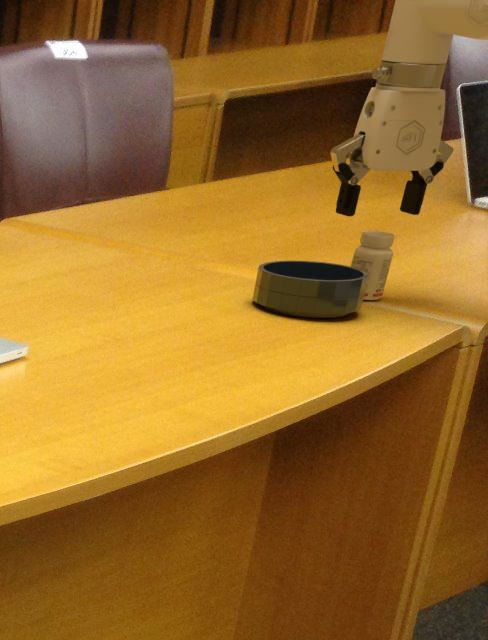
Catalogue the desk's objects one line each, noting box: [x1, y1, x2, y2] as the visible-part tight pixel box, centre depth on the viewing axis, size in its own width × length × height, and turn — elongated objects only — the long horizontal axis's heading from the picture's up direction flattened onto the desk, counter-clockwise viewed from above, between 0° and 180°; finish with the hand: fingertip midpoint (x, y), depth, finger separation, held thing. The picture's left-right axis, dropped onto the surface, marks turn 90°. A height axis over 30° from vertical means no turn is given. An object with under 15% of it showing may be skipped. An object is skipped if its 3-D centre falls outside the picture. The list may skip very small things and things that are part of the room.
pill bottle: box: [350, 230, 395, 301], centre depth 207 cm, size 5×5×8 cm
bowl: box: [252, 260, 368, 319], centre depth 201 cm, size 13×13×5 cm
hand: (376, 213), depth 204 cm, fingers open, 9 cm apart
